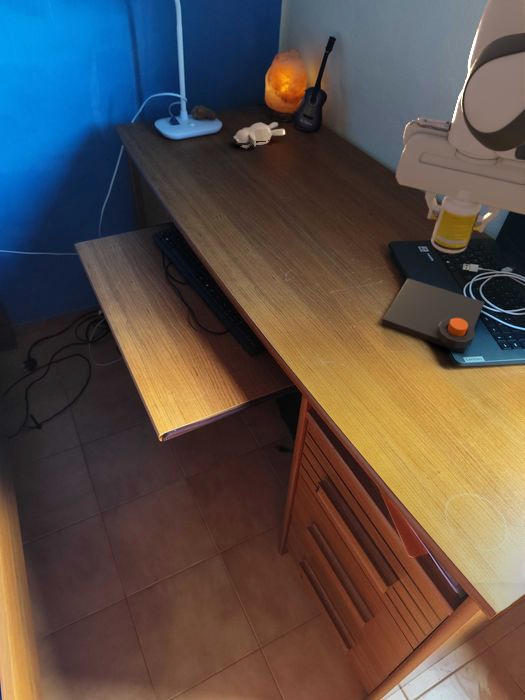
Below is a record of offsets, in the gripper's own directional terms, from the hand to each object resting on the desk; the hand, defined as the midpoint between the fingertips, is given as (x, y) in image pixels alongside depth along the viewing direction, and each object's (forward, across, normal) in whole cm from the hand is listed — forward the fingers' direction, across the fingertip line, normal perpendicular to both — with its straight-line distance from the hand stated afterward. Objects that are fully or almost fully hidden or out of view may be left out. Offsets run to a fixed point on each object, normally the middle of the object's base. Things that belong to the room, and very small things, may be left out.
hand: (455, 223), depth 70 cm
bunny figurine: (+23, -68, +57) cm, 92 cm away
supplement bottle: (+4, 0, 0) cm, 4 cm away
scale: (+22, +1, +4) cm, 22 cm away
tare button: (+19, +6, -1) cm, 20 cm away
